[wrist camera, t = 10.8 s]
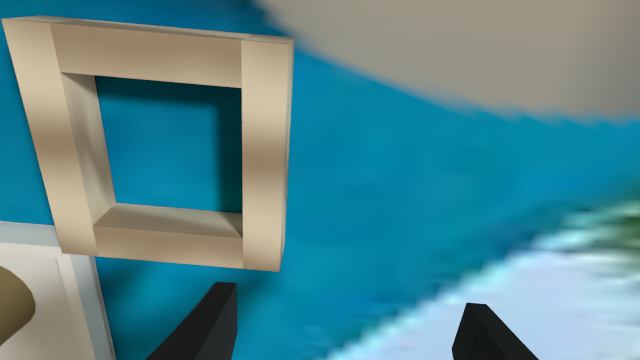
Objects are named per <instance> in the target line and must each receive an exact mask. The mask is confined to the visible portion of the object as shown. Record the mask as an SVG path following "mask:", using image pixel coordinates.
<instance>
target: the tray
mask: <svg viewBox="0 0 640 360" xmlns="http://www.w3.org/2000/svg"><path fill="white" fill-rule="evenodd" d="M0 266H2V267H4V268H6V269H8V270H10V271H11V272H13V273H14V274H15V275H16V276H17V277H19V278H20V279H21V280H22V281H23V282H24V283H25V284H26V285H27V287H28V288H29V289H30V291H31V292H32V295H33V297H34V300H35V303H36V306H35V314H34V316H33V317H32V319H31V320H30V322H28V323H27V324H26V325H25V326H24V327H22V328H21V329H20V330H19V331H18V332H16V333H15V334H14V335H13V336H12V337H11V338H9V339H8V340H7V341H6V342H5V343H3V344H2V345H1V346H0V360H116V355H115V351H114V346H113V341H112V337H111V332H110V328H109V323H108V318H107V314H106V309H105V304H104V300H103V295H102V291H101V286H100V281H99V277H98V272H97V267H96V263H95V258H94V256H87V255H76V254H64V253H62V250H61V246H60V243H59V239H58V235H57V231H56V227H55V226H53V225H41V224H29V223H18V222H6V221H0Z"/></svg>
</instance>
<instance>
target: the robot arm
mask: <svg viewBox="0 0 640 360" xmlns="http://www.w3.org/2000/svg"><path fill="white" fill-rule="evenodd" d="M236 335H237V283H227V282H216V283H215V284H213V286H212V287H211V288H210V289H209V291H208V292H207V293H206V294H205V296H204V297H203V298H202V299H201V301H200V302H199V303H198V304H197V305H196V307H195V308H194V309H193V310H192V311H191V312H190V314H189V315H188V316H187V317H186V318H185V319H184V320H183V321H182V322H181V323H180V325H179V326H178V327H177V328H176V329H175V330H174V331H173V332H172V333H171V334H170V335H169V336H168V337H167V338H166V339H165V340H164V341H163V342H162V343H161V344H160V345H159V346H158V347H157V348H156V349H155V350H154V351H153V352H152V353H151V354H150V355H149V356H148V357H147V358H146V359H145V360H231V358H232V353H233V349H234V345H235V340H236ZM452 353H453V359H454V360H539V359H538V358H537V357H536V356H535V355H534V354H533V353H532V352H531V351H530V350H529V349H528V348H527V347H526V346H525V345H524V344H523V343H522V342H521V341H520V340H519V338H518V337H517V336H516V335H515V334H514V333H513V332H512V331H511V330H510V329H509V328H508V327H507V326H506V325H505V324H504V322H503V321H502V320H501V319H500V318H499V317H498V316H497V315H496V314H495V313H494V312H493V311H492V310H491V309H490V308H489V307H488V306H487V305H486V304H476V303H466V307H465V310H464V313H463V316H462V319H461V322H460V325H459V328H458V331H457V334H456V337H455V340H454V343H453V347H452Z"/></svg>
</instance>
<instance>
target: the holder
mask: <svg viewBox="0 0 640 360" xmlns="http://www.w3.org/2000/svg"><path fill="white" fill-rule="evenodd" d="M2 23H3V27H4V31H5V34H6V38H7V42H8V46H9V50H10V54H11V58H12V61H13V65H14V69H15V73H16V77H17V81H18V85H19V88H20V92H21V96H22V100H23V104H24V108H25V112H26V115H27V119H28V123H29V127H30V131H31V135H32V139H33V142H34V146H35V150H36V154H37V158H38V162H39V166H40V169H41V173H42V177H43V181H44V185H45V189H46V193H47V196H48V200H49V204H50V208H51V212H52V216H53V219H54V223H55V227H56V231H57V235H58V239H59V243H60V246H61V250H62V253H64V254H76V255H87V256H99V257H111V258H123V259H135V260H147V261H158V262H170V263H182V264H194V265H206V266H218V267H229V268H241V269H253V270H265V271H277V272H279V270H280V265H281V260H282V255H283V250H284V243H285V222H286V202H287V181H288V161H289V140H290V120H291V99H292V79H293V58H294V38H288V37H277V36H266V35H255V34H243V33H232V32H221V31H210V30H198V29H187V28H176V27H165V26H153V25H142V24H131V23H120V22H108V21H97V20H86V19H75V18H63V17H52V16H31V17H19V18H7V19H2ZM94 75H99V76H110V77H122V78H133V79H144V80H156V81H167V82H178V83H190V84H201V85H213V86H224V87H235V88H242V181H243V214H242V213H230V212H218V211H207V210H195V209H183V208H172V207H160V206H148V205H136V204H125V203H116V200H115V194H114V188H113V183H112V177H111V171H110V165H109V159H108V154H107V148H106V142H105V136H104V130H103V125H102V119H101V113H100V107H99V101H98V96H97V90H96V84H95V78H94Z"/></svg>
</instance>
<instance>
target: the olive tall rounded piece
mask: <svg viewBox="0 0 640 360" xmlns="http://www.w3.org/2000/svg"><path fill="white" fill-rule="evenodd" d="M35 306H36V303H35V300H34V297H33V295H32V292H31V291H30V289H29V288H28V287H27V285H26V284H25V283H24V282H23V281H22V280H21V279H20V278H19V277H17V276H16V275H15V274H14V273H13V272H11V271H10V270H8V269H6V268H4V267H2V266H0V346H1V345H2V344H3V343H5V342H6V341H7V340H8V339H9V338H11V337H12V336H13V335H14V334H15V333H16V332H18V331H19V330H20V329H21V328H22V327H24V326H25V325H26V324H27V323H28V322H30V320H31V319H32V317H33V316H34V314H35Z"/></svg>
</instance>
